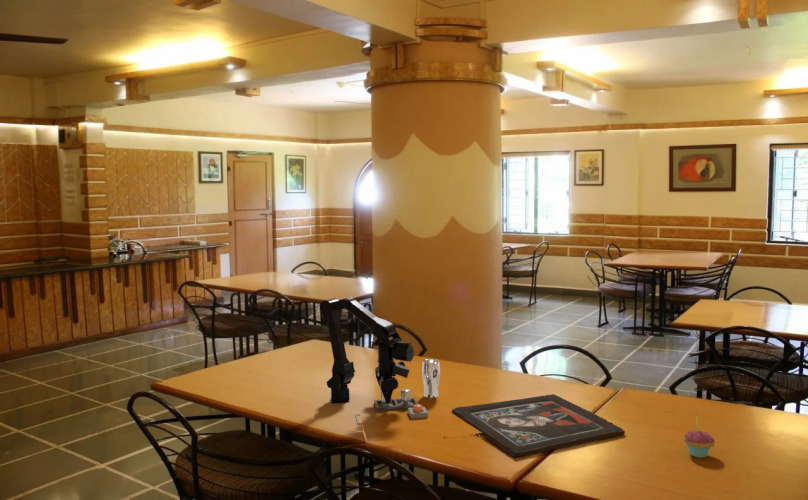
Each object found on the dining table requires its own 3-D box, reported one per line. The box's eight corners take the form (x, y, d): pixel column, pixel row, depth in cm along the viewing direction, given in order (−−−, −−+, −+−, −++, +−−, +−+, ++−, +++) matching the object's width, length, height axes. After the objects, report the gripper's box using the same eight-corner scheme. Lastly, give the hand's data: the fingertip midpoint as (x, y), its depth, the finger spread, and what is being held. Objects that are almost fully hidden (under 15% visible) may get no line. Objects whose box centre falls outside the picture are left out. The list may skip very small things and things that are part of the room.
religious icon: (448, 416, 226) (448, 408, 226) (551, 400, 244) (552, 392, 244) (510, 461, 189) (511, 451, 189) (627, 438, 208) (627, 429, 207)
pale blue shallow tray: (357, 427, 216) (357, 423, 216) (355, 417, 225) (355, 414, 225) (390, 424, 218) (390, 421, 218) (386, 415, 227) (386, 412, 227)
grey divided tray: (376, 414, 228) (376, 407, 228) (374, 407, 236) (374, 400, 236) (418, 411, 231) (418, 405, 230) (414, 404, 238) (414, 397, 238)
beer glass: (438, 402, 240) (438, 363, 239) (420, 401, 242) (420, 363, 240) (441, 396, 247) (441, 359, 246) (423, 395, 249) (423, 358, 247)
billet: (392, 409, 231) (392, 392, 230) (381, 409, 230) (381, 393, 230) (391, 405, 235) (391, 389, 234) (380, 406, 234) (380, 390, 234)
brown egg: (414, 418, 222) (414, 407, 221) (412, 415, 225) (412, 404, 224) (422, 418, 222) (422, 407, 222) (421, 415, 225) (421, 404, 225)
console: (411, 422, 220) (411, 413, 220) (408, 416, 226) (408, 407, 226) (428, 421, 221) (427, 412, 221) (424, 415, 227) (424, 406, 227)
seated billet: (401, 408, 231) (401, 392, 231) (399, 404, 235) (399, 389, 235) (412, 407, 232) (412, 391, 232) (410, 404, 236) (410, 388, 235)
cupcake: (677, 449, 196) (679, 411, 195) (704, 448, 197) (705, 410, 196) (692, 461, 187) (694, 421, 186) (720, 459, 188) (721, 420, 187)
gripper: (412, 363, 223) (412, 406, 224) (403, 350, 241) (403, 390, 243) (380, 365, 221) (381, 408, 223) (374, 352, 239) (374, 392, 241)
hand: (386, 399), depth 232 cm, fingers open, 9 cm apart
